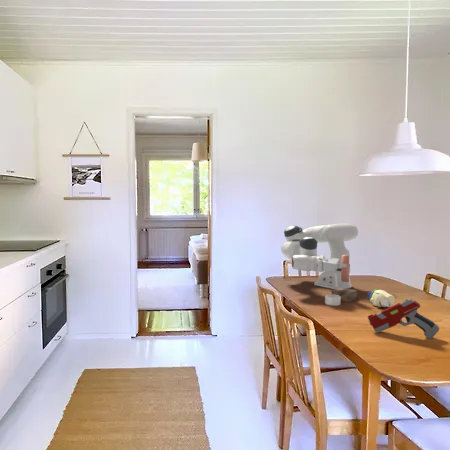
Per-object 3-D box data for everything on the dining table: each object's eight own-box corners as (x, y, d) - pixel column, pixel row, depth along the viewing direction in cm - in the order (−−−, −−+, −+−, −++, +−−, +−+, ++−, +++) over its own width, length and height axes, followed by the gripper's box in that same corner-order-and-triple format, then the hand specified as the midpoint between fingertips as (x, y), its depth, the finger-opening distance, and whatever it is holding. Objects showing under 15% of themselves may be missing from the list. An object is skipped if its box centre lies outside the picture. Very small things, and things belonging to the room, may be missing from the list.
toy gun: (389, 353, 172) (366, 315, 174) (442, 331, 164) (417, 292, 166) (389, 356, 169) (366, 318, 171) (443, 334, 160) (418, 294, 163)
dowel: (339, 281, 223) (340, 255, 223) (343, 280, 227) (343, 254, 226) (347, 282, 221) (347, 256, 220) (350, 281, 224) (350, 255, 223)
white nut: (323, 305, 213) (323, 296, 213) (329, 302, 219) (329, 293, 219) (336, 307, 209) (336, 298, 208) (342, 304, 214) (342, 295, 214)
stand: (331, 299, 224) (331, 290, 224) (339, 296, 232) (339, 287, 231) (349, 302, 218) (349, 293, 217) (356, 299, 225) (357, 290, 225)
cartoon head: (389, 316, 202) (362, 305, 221) (403, 305, 204) (375, 294, 223) (382, 302, 200) (356, 292, 218) (396, 291, 202) (369, 281, 221)
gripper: (322, 266, 237) (348, 267, 233) (318, 272, 218) (345, 273, 214) (322, 255, 237) (348, 256, 232) (318, 260, 218) (346, 261, 213)
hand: (347, 264), depth 223 cm, fingers closed on dowel, 4 cm apart
